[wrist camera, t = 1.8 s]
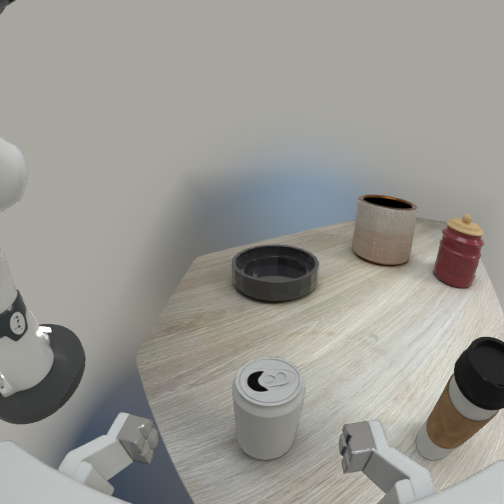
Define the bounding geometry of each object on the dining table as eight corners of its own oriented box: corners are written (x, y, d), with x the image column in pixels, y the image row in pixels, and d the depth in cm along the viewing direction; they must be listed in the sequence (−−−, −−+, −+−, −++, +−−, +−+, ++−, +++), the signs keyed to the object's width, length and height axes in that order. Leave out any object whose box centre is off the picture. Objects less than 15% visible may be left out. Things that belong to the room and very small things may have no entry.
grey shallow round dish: (229, 304, 52) (228, 282, 50) (236, 263, 69) (235, 244, 67) (324, 303, 52) (327, 281, 50) (308, 262, 69) (310, 244, 67)
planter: (416, 255, 71) (425, 205, 65) (394, 274, 61) (405, 213, 55) (369, 238, 84) (375, 192, 78) (340, 252, 74) (345, 197, 68)
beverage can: (235, 421, 28) (227, 356, 23) (287, 414, 29) (296, 348, 24) (241, 465, 22) (234, 413, 18) (299, 456, 23) (316, 400, 18)
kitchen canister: (433, 262, 66) (445, 204, 59) (470, 273, 59) (484, 215, 52) (431, 281, 57) (446, 213, 50) (473, 293, 49) (492, 226, 42)
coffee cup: (398, 460, 20) (463, 380, 14) (416, 410, 26) (465, 323, 20) (452, 474, 15) (532, 397, 9) (464, 423, 21) (522, 340, 15)
